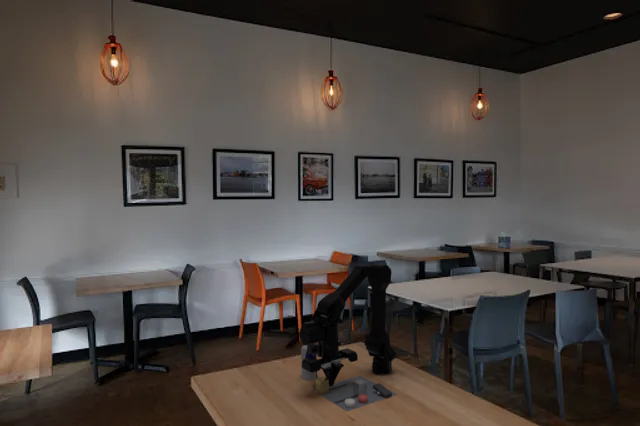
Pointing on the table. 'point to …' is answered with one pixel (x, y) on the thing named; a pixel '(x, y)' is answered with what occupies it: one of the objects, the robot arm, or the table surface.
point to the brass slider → (322, 385)
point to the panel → (351, 394)
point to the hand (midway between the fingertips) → (330, 385)
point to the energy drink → (305, 374)
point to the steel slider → (359, 387)
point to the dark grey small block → (382, 390)
